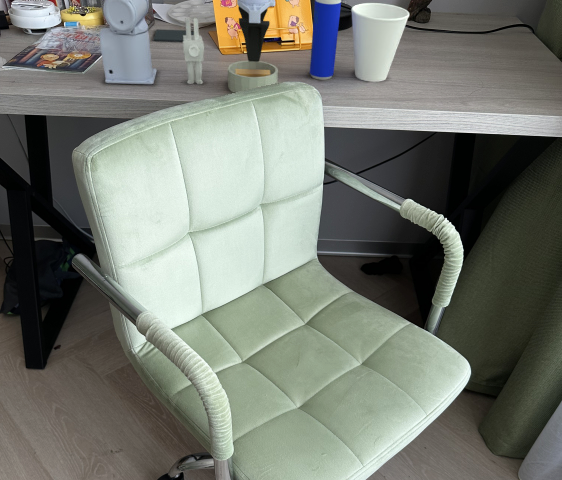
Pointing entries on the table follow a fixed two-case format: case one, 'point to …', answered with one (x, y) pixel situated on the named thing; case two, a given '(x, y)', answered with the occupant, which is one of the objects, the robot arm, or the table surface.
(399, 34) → the cup
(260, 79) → the tin
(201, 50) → the toy robot
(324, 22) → the beverage can
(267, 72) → the tan wooden block
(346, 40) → the table surface
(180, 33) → the coaster
